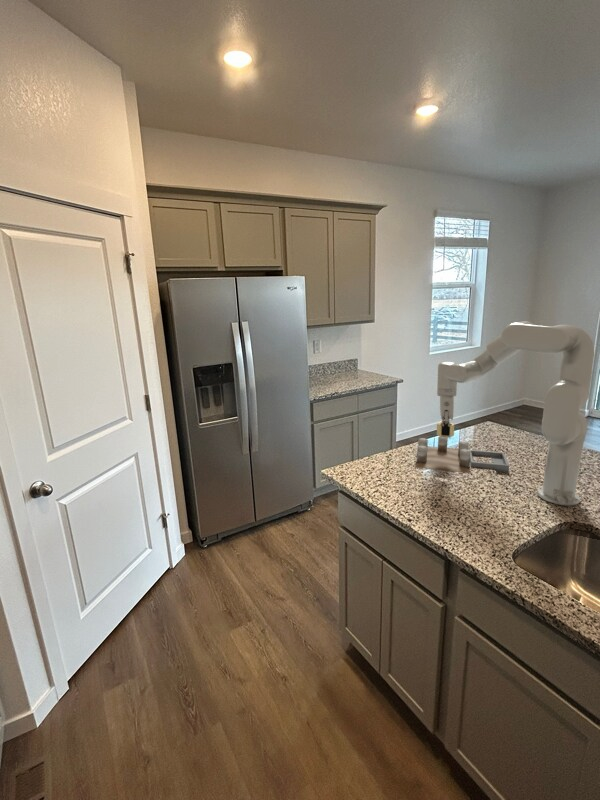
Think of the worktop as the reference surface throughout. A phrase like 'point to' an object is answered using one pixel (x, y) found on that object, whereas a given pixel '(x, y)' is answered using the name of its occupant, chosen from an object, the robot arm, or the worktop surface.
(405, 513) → the worktop surface
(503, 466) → the tray
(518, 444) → the worktop surface
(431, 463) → the board
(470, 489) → the worktop surface
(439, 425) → the faceted yellow gem
